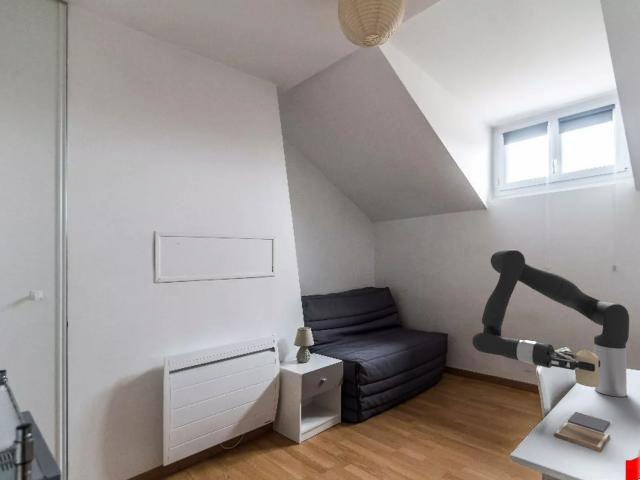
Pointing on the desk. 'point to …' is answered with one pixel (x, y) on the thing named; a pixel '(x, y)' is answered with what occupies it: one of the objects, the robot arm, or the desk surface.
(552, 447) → the desk surface
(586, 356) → the candle
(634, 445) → the desk surface
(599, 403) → the desk surface
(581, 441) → the board
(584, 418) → the pad
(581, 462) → the desk surface
